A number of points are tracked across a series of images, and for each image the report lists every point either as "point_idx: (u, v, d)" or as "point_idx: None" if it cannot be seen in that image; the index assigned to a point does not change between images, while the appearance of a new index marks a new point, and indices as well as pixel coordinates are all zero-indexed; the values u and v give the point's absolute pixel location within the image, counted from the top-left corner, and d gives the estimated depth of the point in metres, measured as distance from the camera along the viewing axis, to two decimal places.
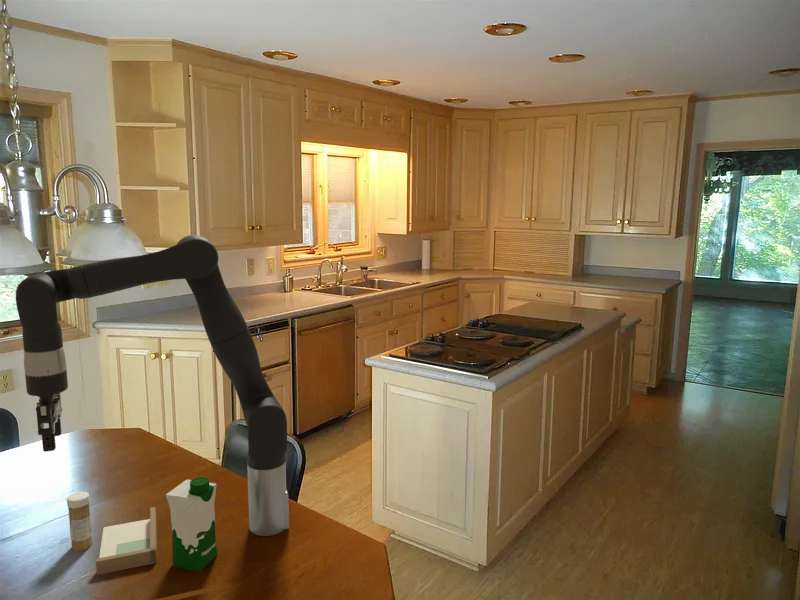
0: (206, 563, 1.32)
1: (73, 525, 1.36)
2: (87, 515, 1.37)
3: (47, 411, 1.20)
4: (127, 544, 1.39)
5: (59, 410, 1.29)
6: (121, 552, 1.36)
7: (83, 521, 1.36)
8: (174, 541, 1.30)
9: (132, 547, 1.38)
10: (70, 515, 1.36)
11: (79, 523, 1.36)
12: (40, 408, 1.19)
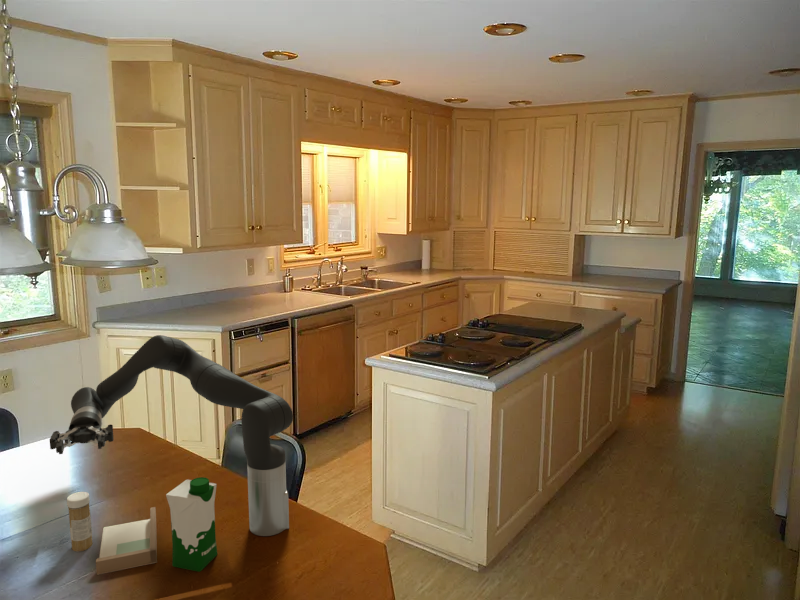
0: (206, 563, 1.32)
1: (73, 525, 1.36)
2: (87, 515, 1.37)
3: None
4: (127, 544, 1.39)
5: (93, 431, 1.52)
6: (121, 552, 1.36)
7: (83, 521, 1.36)
8: (174, 541, 1.30)
9: (132, 547, 1.38)
10: (70, 515, 1.36)
11: (79, 523, 1.36)
12: None
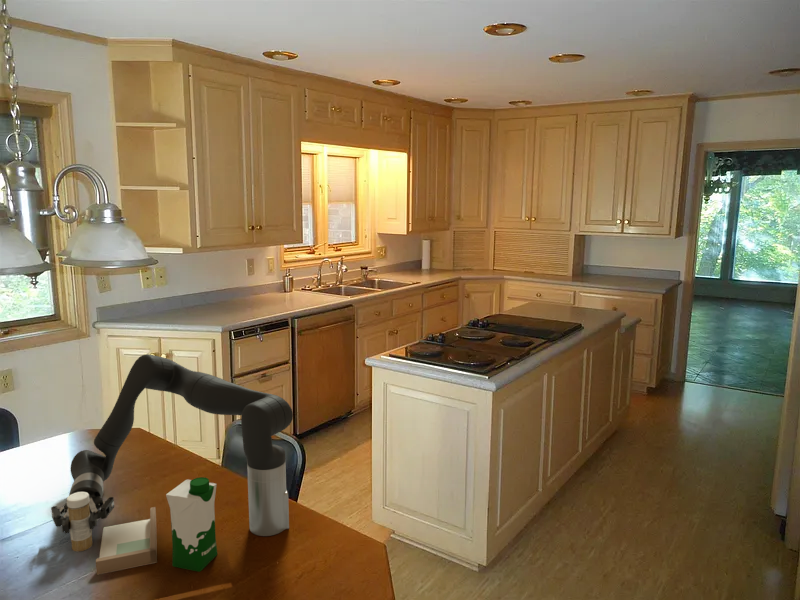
0: (206, 563, 1.32)
1: (73, 525, 1.36)
2: (86, 515, 1.37)
3: None
4: (127, 544, 1.39)
5: (89, 506, 1.42)
6: (121, 552, 1.36)
7: (83, 521, 1.36)
8: (174, 541, 1.30)
9: (132, 547, 1.38)
10: (70, 515, 1.36)
11: (79, 523, 1.36)
12: None
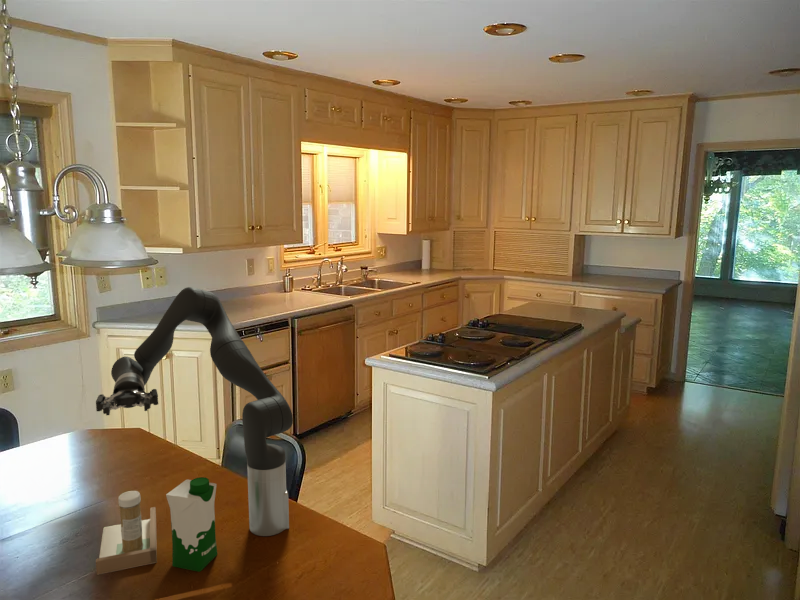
0: (206, 563, 1.32)
1: (125, 524, 1.34)
2: (138, 514, 1.36)
3: None
4: None
5: (139, 394, 1.52)
6: (121, 552, 1.36)
7: (134, 520, 1.35)
8: (174, 541, 1.30)
9: None
10: (122, 514, 1.34)
11: (130, 523, 1.34)
12: None
